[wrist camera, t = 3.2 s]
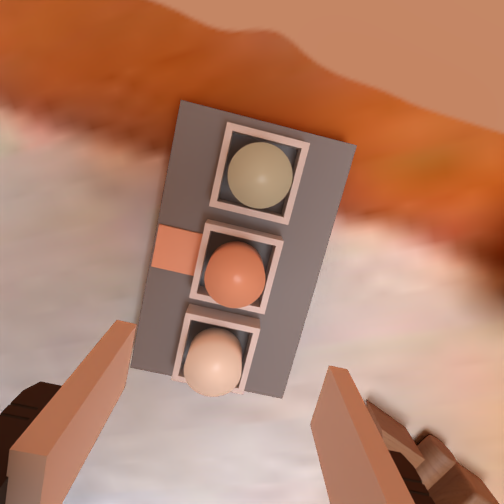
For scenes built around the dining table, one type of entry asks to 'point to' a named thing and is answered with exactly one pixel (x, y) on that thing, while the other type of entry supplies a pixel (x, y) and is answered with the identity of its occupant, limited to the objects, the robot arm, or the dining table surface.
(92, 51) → the dining table surface
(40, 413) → the robot arm
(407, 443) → the wooden block set
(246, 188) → the sage button
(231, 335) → the cream button
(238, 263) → the terracotta button
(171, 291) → the button panel
